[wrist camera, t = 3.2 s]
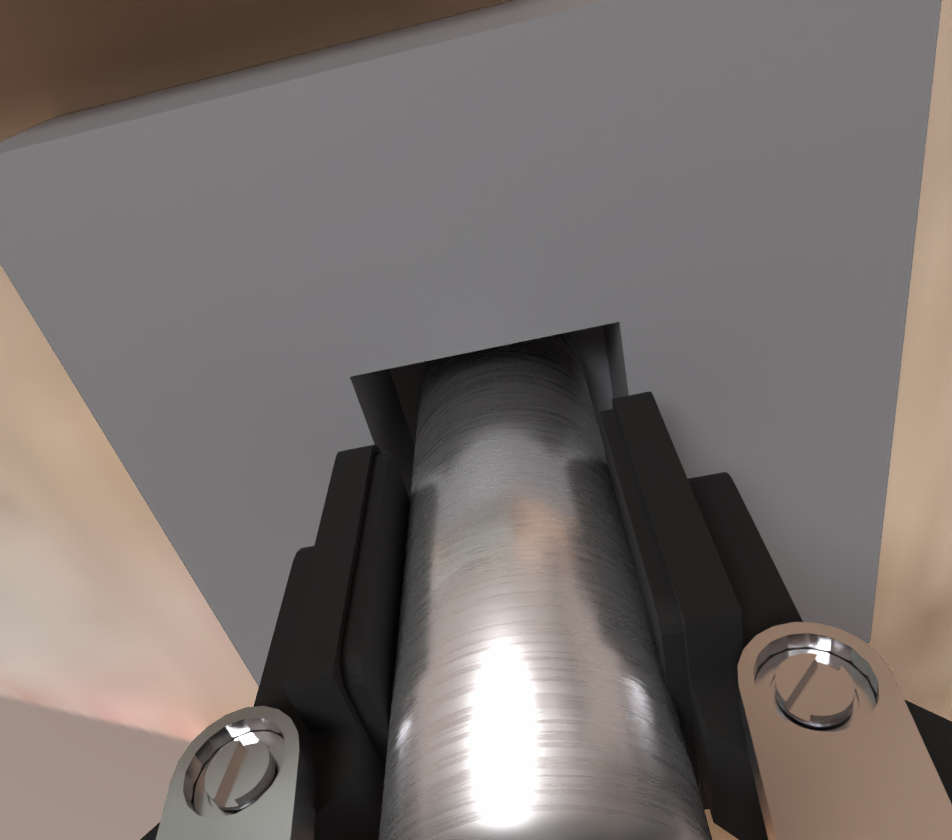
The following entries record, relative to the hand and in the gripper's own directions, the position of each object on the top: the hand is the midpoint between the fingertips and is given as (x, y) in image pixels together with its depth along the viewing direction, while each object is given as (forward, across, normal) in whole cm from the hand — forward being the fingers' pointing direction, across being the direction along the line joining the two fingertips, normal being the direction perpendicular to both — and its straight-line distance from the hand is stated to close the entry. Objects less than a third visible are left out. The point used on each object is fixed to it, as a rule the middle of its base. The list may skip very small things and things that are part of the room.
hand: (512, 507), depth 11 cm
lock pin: (+4, 0, 0) cm, 4 cm away
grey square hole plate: (+4, 0, 0) cm, 4 cm away
